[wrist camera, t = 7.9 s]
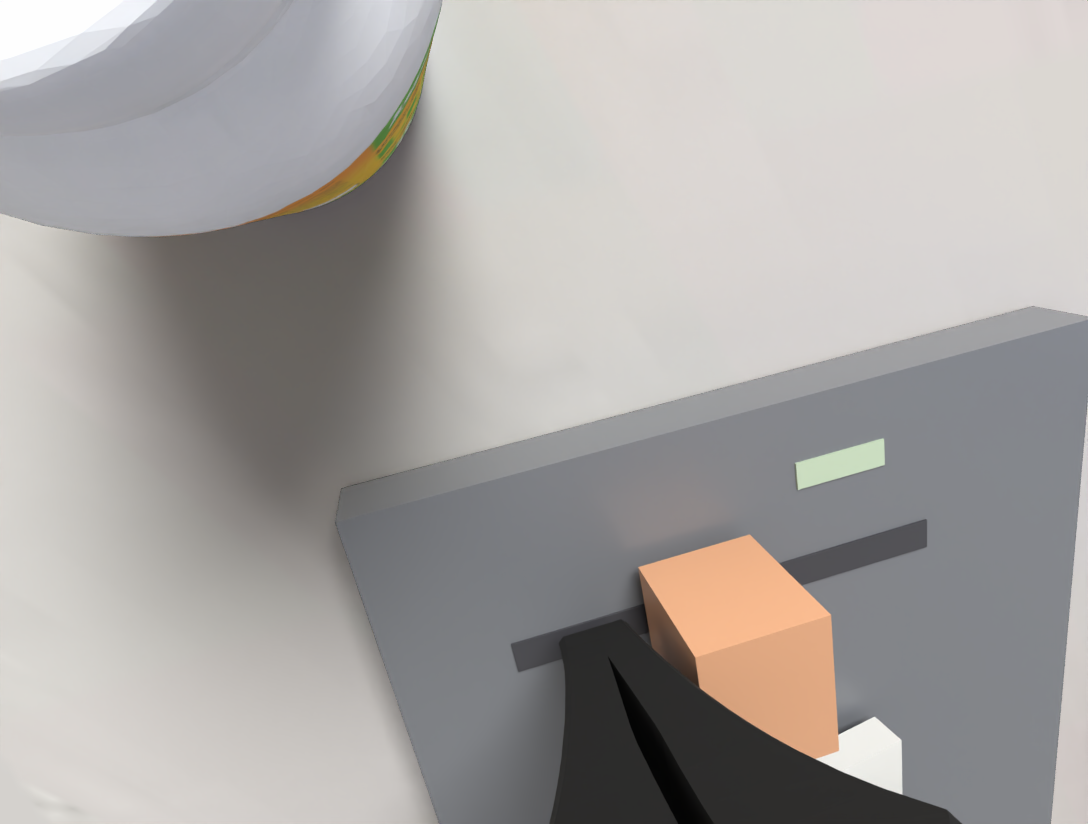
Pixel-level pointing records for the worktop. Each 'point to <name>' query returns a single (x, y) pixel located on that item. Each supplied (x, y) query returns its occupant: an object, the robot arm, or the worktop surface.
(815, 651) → the peach slider
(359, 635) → the worktop surface
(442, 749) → the switch panel
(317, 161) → the supplement bottle
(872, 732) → the off-white rocker
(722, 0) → the worktop surface
